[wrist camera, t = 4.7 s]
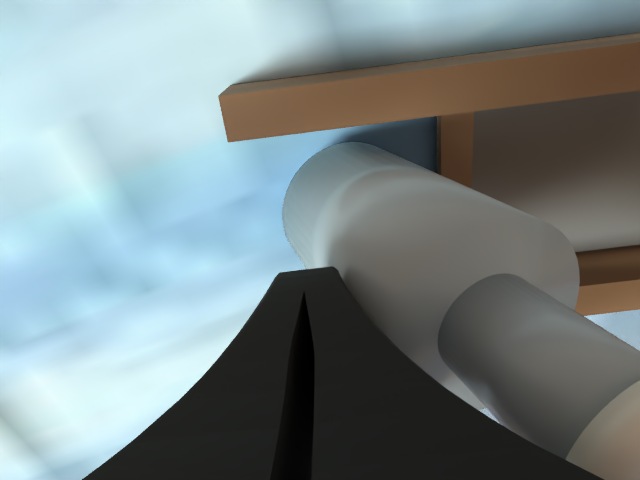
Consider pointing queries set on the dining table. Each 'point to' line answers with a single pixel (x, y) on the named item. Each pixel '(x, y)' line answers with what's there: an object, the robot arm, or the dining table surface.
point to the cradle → (502, 137)
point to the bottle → (472, 300)
